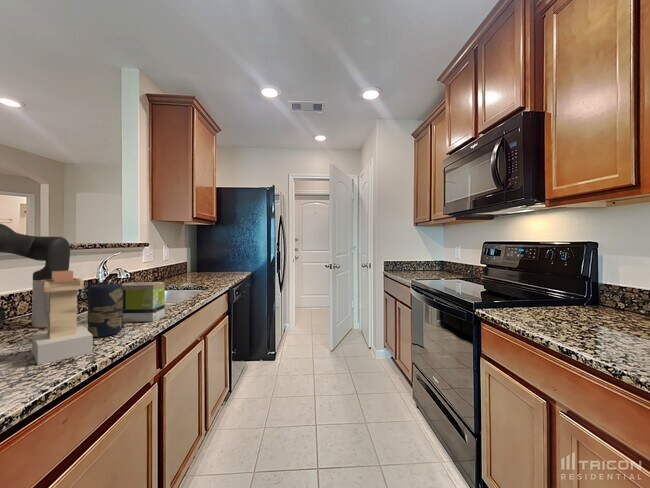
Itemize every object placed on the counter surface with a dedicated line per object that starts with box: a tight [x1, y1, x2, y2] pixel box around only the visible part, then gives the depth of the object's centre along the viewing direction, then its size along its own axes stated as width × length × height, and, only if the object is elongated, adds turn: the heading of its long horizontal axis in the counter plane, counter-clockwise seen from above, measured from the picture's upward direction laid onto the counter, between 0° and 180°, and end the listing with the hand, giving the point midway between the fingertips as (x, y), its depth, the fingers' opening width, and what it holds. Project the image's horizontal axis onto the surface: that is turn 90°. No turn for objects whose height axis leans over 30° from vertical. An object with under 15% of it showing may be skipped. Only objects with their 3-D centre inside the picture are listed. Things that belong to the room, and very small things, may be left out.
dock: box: [31, 325, 94, 366], centre depth 81 cm, size 14×11×5 cm
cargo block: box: [52, 269, 74, 282], centre depth 81 cm, size 4×4×4 cm
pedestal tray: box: [41, 277, 85, 339], centre depth 81 cm, size 8×8×16 cm
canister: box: [87, 281, 124, 338], centre depth 97 cm, size 10×10×18 cm
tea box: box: [121, 281, 166, 323], centre depth 117 cm, size 15×10×15 cm, turn 93°
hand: (4, 313), depth 73 cm, fingers open, 8 cm apart
